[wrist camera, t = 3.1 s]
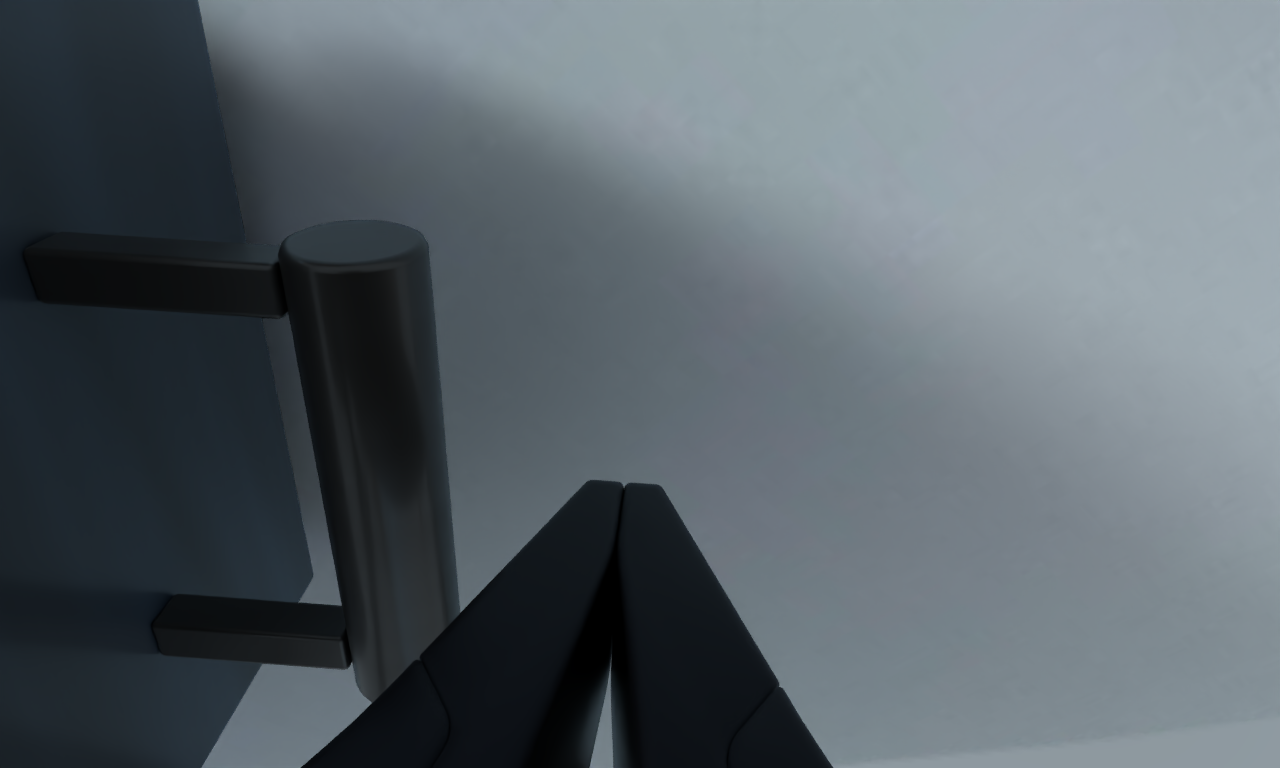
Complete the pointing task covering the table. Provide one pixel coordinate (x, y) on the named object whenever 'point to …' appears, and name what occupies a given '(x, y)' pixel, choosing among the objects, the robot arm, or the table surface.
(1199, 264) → the table surface
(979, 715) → the table surface
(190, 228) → the drawer
